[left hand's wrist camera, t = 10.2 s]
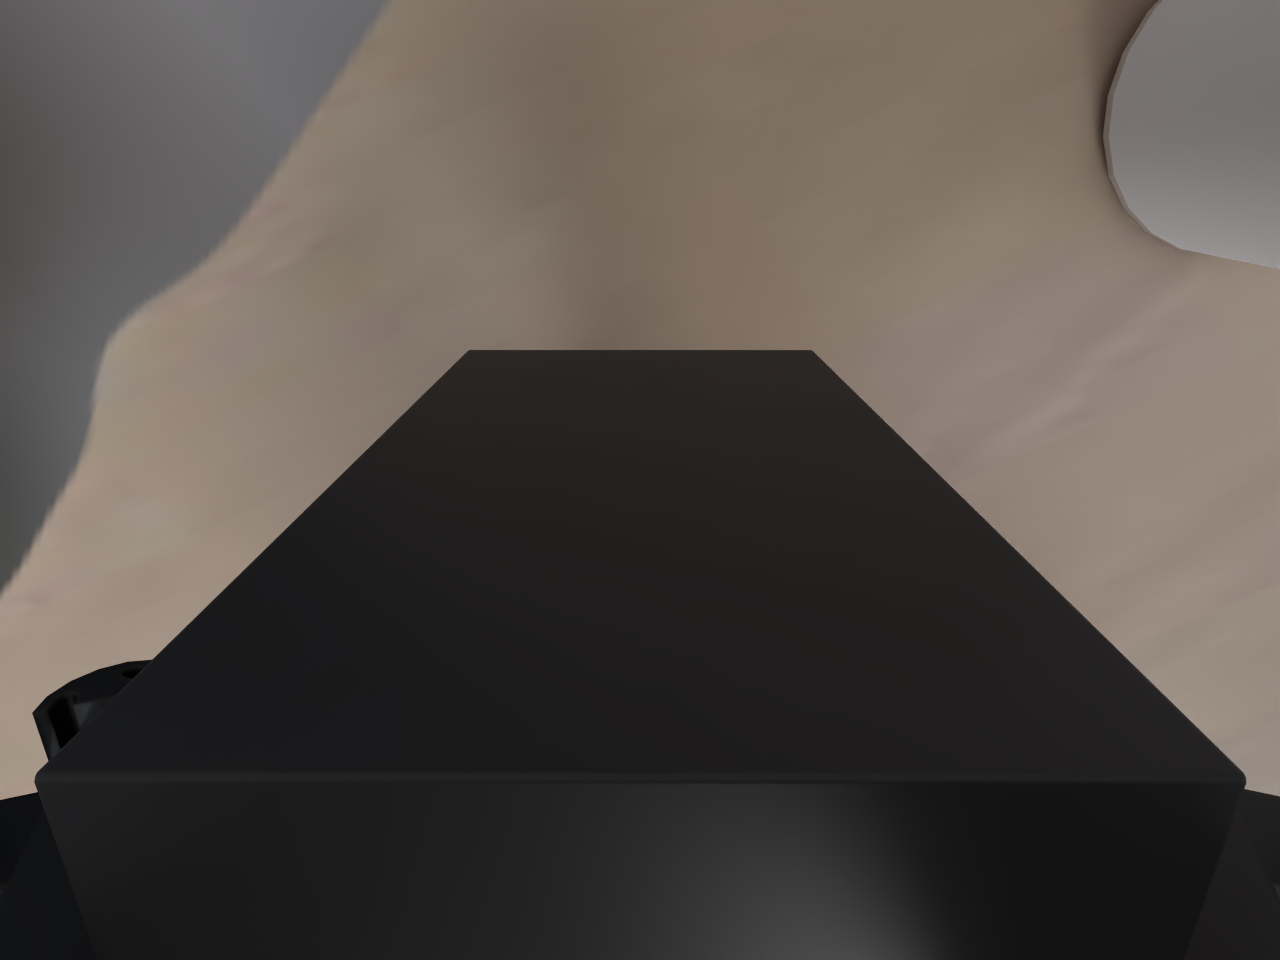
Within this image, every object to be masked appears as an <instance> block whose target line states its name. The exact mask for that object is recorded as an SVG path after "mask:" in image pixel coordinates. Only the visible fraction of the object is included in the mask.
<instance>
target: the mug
mask: <svg viewBox="0 0 1280 960" xmlns="http://www.w3.org/2000/svg"><path fill="white" fill-rule="evenodd" d="M1103 141H1104V148H1105V155H1106V162H1107V169H1108V176H1109V178H1110V180H1111V182H1112V185H1113V187H1114V189H1115V191H1116V194H1117V196H1118V198H1119V200H1120V202H1121V205H1122V207H1123V208H1124V209H1125V211H1126V212H1127V213H1128V214H1129V215H1130V216H1131V217H1132V218H1133V219H1134V220H1135V221H1136V222H1137V224H1138V225H1139V226H1140V227H1141V228H1142V229H1143V230H1144V231H1145V232H1146V233H1148V234H1149V235H1151V236H1153V237H1155V238H1157V239H1159V240H1161V241H1162V242H1164V243H1166V244H1168V245H1170V246H1172V247H1173V248H1176V249H1181V250H1187V251H1192V252H1197V253H1202V254H1207V255H1212V256H1217V257H1222V258H1227V259H1232V260H1237V261H1242V262H1247V263H1252V264H1257V265H1261V266H1266V267H1271V268H1276V269H1280V0H1158V1H1157V2H1156V3H1155V4H1154V5H1153V7H1152V8H1151V9H1150V10H1149V11H1148V12H1147V14H1146V15H1145V17H1144V19H1143V20H1142V22H1141V23H1140V25H1139V27H1138V28H1137V30H1136V32H1135V33H1134V35H1133V37H1132V38H1131V40H1130V42H1129V43H1128V45H1127V47H1126V48H1125V50H1124V52H1123V54H1122V56H1121V59H1120V62H1119V65H1118V68H1117V71H1116V74H1115V76H1114V79H1113V82H1112V85H1111V88H1110V91H1109V94H1108V97H1107V106H1106V114H1105V123H1104V132H1103Z"/></svg>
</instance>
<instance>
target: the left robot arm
mask: <svg viewBox="0 0 1280 960" xmlns="http://www.w3.org/2000/svg"><path fill="white" fill-rule="evenodd" d="M151 661H152V660H144V661H132V662H125V663H121V664H117V665H114V666H110V667H106V668H102V669H98V670H96V671H94V672H91V673H89V674H86V675H84V676H82V677H79V678H77V679H75V680H72V681H70V682H69V683H67V684H66V685H64V686H63V687H61V688H59V689H58V690H56V691H55V692H53V693H52V694H50V695H49V696H47V697H46V698H45V699H44V700H43V702H42V703H41V704H40V705H39V706H38V707H37V708H36V709H35V711H34V712H33V713H32V714H33V716H34V719H35V722H36V725H37V728H38V731H39V734H40V737H41V740H42V743H43V746H44V749H45V752H46V755H47V758H48V761H49V760H50V759H51V758H52V757H54V756H55V755H56V754H57V753H58V752H59V751H60V750H61V749H62V748H63V747H64V746H65V745H66V744H67V743H68V742H69V741H70V740H71V739H72V738H73V737H74V736H75V735H76V734H77V733H78V732H79V731H80V730H81V729H82V728H83V727H84V726H85V725H86V724H87V723H88V722H89V721H90V720H91V719H92V718H93V717H94V716H95V715H96V714H97V713H98V712H100V711H101V710H102V709H103V708H104V707H105V706H106V705H107V704H108V703H109V702H110V701H111V700H112V699H113V698H114V697H115V696H116V695H117V694H118V693H119V692H120V691H121V690H122V689H123V688H124V687H125V686H126V685H127V684H128V683H129V682H130V681H131V680H132V679H133V678H134V677H135V676H136V675H137V674H138V673H139V672H140V671H141V670H142V669H143V668H144V667H146V666H147V665H148V664H149V663H150V662H151ZM0 960H97V958H96V955H95V953H94V950H93V947H92V944H91V941H90V938H89V936H88V933H87V930H86V927H85V924H84V921H83V918H82V916H81V913H80V910H79V907H78V904H77V901H76V899H75V896H74V893H73V890H72V887H71V884H70V882H69V879H68V876H67V873H66V870H65V867H64V865H63V862H62V859H61V856H60V853H59V850H58V847H57V845H56V842H55V839H54V836H53V833H52V830H51V828H50V825H49V822H48V819H47V816H46V813H45V811H44V808H43V805H42V802H41V799H40V796H39V794H38V792H36V793H32V794H27V795H22V796H17V797H13V798H8V799H3V800H0ZM1184 960H1280V797H1279V796H1274V795H1270V794H1265V793H1260V792H1255V791H1251V790H1246V789H1244V791H1243V793H1242V796H1241V799H1240V802H1239V805H1238V808H1237V810H1236V813H1235V816H1234V819H1233V822H1232V825H1231V827H1230V830H1229V833H1228V836H1227V839H1226V842H1225V844H1224V847H1223V850H1222V853H1221V856H1220V859H1219V861H1218V864H1217V867H1216V870H1215V873H1214V876H1213V878H1212V881H1211V884H1210V887H1209V890H1208V893H1207V895H1206V898H1205V901H1204V904H1203V907H1202V910H1201V912H1200V915H1199V918H1198V921H1197V924H1196V927H1195V929H1194V932H1193V935H1192V938H1191V941H1190V944H1189V946H1188V949H1187V952H1186V955H1185V958H1184Z"/></svg>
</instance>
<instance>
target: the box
mask: <svg viewBox="0 0 1280 960" xmlns="http://www.w3.org/2000/svg"><path fill="white" fill-rule="evenodd" d="M35 785H36V788H37V791H38V794H39V796H40V799H41V802H42V805H43V808H44V811H45V813H46V816H47V819H48V822H49V825H50V828H51V830H52V833H53V836H54V839H55V842H56V845H57V847H58V850H59V853H60V856H61V859H62V862H63V865H64V867H65V870H66V873H67V876H68V879H69V882H70V884H71V887H72V890H73V893H74V896H75V899H76V901H77V904H78V907H79V910H80V913H81V916H82V918H83V921H84V924H85V927H86V930H87V933H88V936H89V938H90V941H91V944H92V947H93V950H94V953H95V955H96V958H97V960H1184V958H1185V955H1186V952H1187V949H1188V946H1189V944H1190V941H1191V938H1192V935H1193V932H1194V929H1195V927H1196V924H1197V921H1198V918H1199V915H1200V912H1201V910H1202V907H1203V904H1204V901H1205V898H1206V895H1207V893H1208V890H1209V887H1210V884H1211V881H1212V878H1213V876H1214V873H1215V870H1216V867H1217V864H1218V861H1219V859H1220V856H1221V853H1222V850H1223V847H1224V844H1225V842H1226V839H1227V836H1228V833H1229V830H1230V827H1231V825H1232V822H1233V819H1234V816H1235V813H1236V810H1237V808H1238V805H1239V802H1240V799H1241V796H1242V793H1243V791H1244V788H1245V785H1246V777H1245V775H1244V773H1243V772H1242V771H1241V770H1240V769H1239V768H1238V767H1237V766H1236V765H1235V764H1234V763H1233V762H1232V761H1231V760H1230V759H1229V758H1228V757H1227V756H1226V755H1225V754H1224V753H1223V752H1222V751H1221V750H1220V749H1219V748H1218V747H1217V746H1215V745H1214V744H1213V743H1212V742H1211V741H1210V740H1209V739H1208V738H1207V737H1206V736H1205V735H1204V734H1203V733H1202V732H1201V731H1200V730H1199V729H1198V728H1197V727H1196V726H1195V725H1194V724H1193V723H1192V722H1191V721H1190V720H1189V719H1188V718H1187V717H1186V716H1185V715H1184V714H1183V713H1182V712H1181V711H1180V710H1179V709H1178V708H1177V707H1176V706H1175V705H1174V704H1173V703H1172V702H1171V701H1170V700H1169V699H1167V698H1166V697H1165V696H1164V695H1163V694H1162V693H1161V692H1160V691H1159V690H1158V689H1157V688H1156V687H1155V686H1154V685H1153V684H1152V683H1151V682H1150V681H1149V680H1148V679H1147V678H1146V677H1145V676H1144V675H1143V674H1142V673H1141V672H1140V671H1139V670H1138V669H1137V668H1136V667H1135V666H1134V665H1133V664H1132V663H1131V662H1130V661H1129V660H1128V659H1127V658H1126V657H1125V656H1124V655H1123V654H1122V653H1121V652H1120V651H1118V650H1117V649H1116V648H1115V647H1114V646H1113V645H1112V644H1111V643H1110V642H1109V641H1108V640H1107V639H1106V638H1105V637H1104V636H1103V635H1102V634H1101V633H1100V632H1099V631H1098V630H1097V629H1096V628H1095V627H1094V626H1093V625H1092V624H1091V623H1090V622H1089V621H1088V620H1087V619H1086V618H1085V617H1084V616H1083V615H1082V614H1081V613H1080V612H1079V611H1078V610H1077V609H1076V608H1075V607H1074V606H1073V605H1072V604H1070V603H1069V602H1068V601H1067V600H1066V599H1065V598H1064V597H1063V596H1062V595H1061V594H1060V593H1059V592H1058V591H1057V590H1056V589H1055V588H1054V587H1053V586H1052V585H1051V584H1050V583H1049V582H1048V581H1047V580H1046V579H1045V578H1044V577H1043V576H1042V575H1041V574H1040V573H1039V572H1038V571H1037V570H1036V569H1035V568H1034V567H1033V566H1032V565H1031V564H1030V563H1029V562H1028V561H1027V560H1026V559H1025V558H1024V557H1022V556H1021V555H1020V554H1019V553H1018V552H1017V551H1016V550H1015V549H1014V548H1013V547H1012V546H1011V545H1010V544H1009V543H1008V542H1007V541H1006V540H1005V539H1004V538H1003V537H1002V536H1001V535H1000V534H999V533H998V532H997V531H996V530H995V529H994V528H993V527H992V526H991V525H990V524H989V523H988V522H987V521H986V520H985V519H984V518H983V517H982V516H981V515H980V514H979V513H978V512H977V511H976V510H974V509H973V508H972V507H971V506H970V505H969V504H968V503H967V502H966V501H965V500H964V499H963V498H962V497H961V496H960V495H959V494H958V493H957V492H956V491H955V490H954V489H953V488H952V487H951V486H950V485H949V484H948V483H947V482H946V481H945V480H944V479H943V478H942V477H941V476H940V475H939V474H938V473H937V472H936V471H935V470H934V469H933V468H932V467H931V466H930V465H929V464H928V463H926V462H925V461H924V460H923V459H922V458H921V457H920V456H919V455H918V454H917V453H916V452H915V451H914V450H913V449H912V448H911V447H910V446H909V445H908V444H907V443H906V442H905V441H904V440H903V439H902V438H901V437H900V436H899V435H898V434H897V433H896V432H895V431H894V430H893V429H892V428H891V427H890V426H889V425H888V424H887V423H886V422H885V421H884V420H883V419H882V418H881V417H880V416H879V415H877V414H876V413H875V412H874V411H873V410H872V409H871V408H870V407H869V406H868V405H867V404H866V403H865V402H864V401H863V400H862V399H861V398H860V397H859V396H858V395H857V394H856V393H855V392H854V391H853V390H852V389H851V388H850V387H849V386H848V385H847V384H846V383H845V382H844V381H843V380H842V379H841V378H840V377H839V376H838V375H837V374H836V373H835V372H834V371H833V370H832V369H831V368H829V367H828V366H827V365H826V364H825V363H824V362H823V361H822V360H821V359H820V358H819V357H818V356H817V355H816V354H815V353H814V352H813V351H811V350H469V351H468V352H467V353H466V354H465V355H463V356H462V357H461V358H460V359H459V360H458V361H457V362H456V363H455V364H454V365H453V366H452V367H451V368H450V369H449V370H448V371H447V372H446V373H445V374H444V375H443V376H442V377H441V378H440V379H439V380H438V381H437V382H436V383H435V384H434V385H433V386H432V387H431V388H430V389H429V390H428V391H427V392H426V393H425V394H424V395H423V396H422V397H421V398H420V399H418V400H417V401H416V402H415V403H414V404H413V405H412V406H411V407H410V408H409V409H408V410H407V411H406V412H405V413H404V414H403V415H402V416H401V417H400V418H399V419H398V420H397V421H396V422H395V423H394V424H393V425H392V426H391V427H390V428H389V429H388V430H387V431H386V432H385V433H384V434H383V435H382V436H381V437H380V438H379V439H378V440H377V441H376V442H375V443H374V444H372V445H371V446H370V447H369V448H368V449H367V450H366V451H365V452H364V453H363V454H362V455H361V456H360V457H359V458H358V459H357V460H356V461H355V462H354V463H353V464H352V465H351V466H350V467H349V468H348V469H347V470H346V471H345V472H344V473H343V474H342V475H341V476H340V477H339V478H338V479H337V480H336V481H335V482H334V483H333V484H332V485H331V486H330V487H329V488H328V489H326V490H325V491H324V492H323V493H322V494H321V495H320V496H319V497H318V498H317V499H316V500H315V501H314V502H313V503H312V504H311V505H310V506H309V507H308V508H307V509H306V510H305V511H304V512H303V513H302V514H301V515H300V516H299V517H298V518H297V519H296V520H295V521H294V522H293V523H292V524H291V525H290V526H289V527H288V528H287V529H286V530H285V531H284V532H283V533H281V534H280V535H279V536H278V537H277V538H276V539H275V540H274V541H273V542H272V543H271V544H270V545H269V546H268V547H267V548H266V549H265V550H264V551H263V552H262V553H261V554H260V555H259V556H258V557H257V558H256V559H255V560H254V561H253V562H252V563H251V564H250V565H249V566H248V567H247V568H246V569H245V570H244V571H243V572H242V573H241V574H240V575H239V576H238V577H237V578H235V579H234V580H233V581H232V582H231V583H230V584H229V585H228V586H227V587H226V588H225V589H224V590H223V591H222V592H221V593H220V594H219V595H218V596H217V597H216V598H215V599H214V600H213V601H212V602H211V603H210V604H209V605H208V606H207V607H206V608H205V609H204V610H203V611H202V612H201V613H200V614H199V615H198V616H197V617H196V618H195V619H194V620H193V621H192V622H191V623H189V624H188V625H187V626H186V627H185V628H184V629H183V630H182V631H181V632H180V633H179V634H178V635H177V636H176V637H175V638H174V639H173V640H172V641H171V642H170V643H169V644H168V645H167V646H166V647H165V648H164V649H163V650H162V651H161V652H160V653H159V654H158V655H157V656H156V657H155V658H154V659H153V660H152V661H151V662H150V663H149V664H148V665H147V666H146V667H144V668H143V669H142V670H141V671H140V672H139V673H138V674H137V675H136V676H135V677H134V678H133V679H132V680H131V681H130V682H129V683H128V684H127V685H126V686H125V687H124V688H123V689H122V690H121V691H120V692H119V693H118V694H117V695H116V696H115V697H114V698H113V699H112V700H111V701H110V702H109V703H108V704H107V705H106V706H105V707H104V708H103V709H102V710H101V711H100V712H98V713H97V714H96V715H95V716H94V717H93V718H92V719H91V720H90V721H89V722H88V723H87V724H86V725H85V726H84V727H83V728H82V729H81V730H80V731H79V732H78V733H77V734H76V735H75V736H74V737H73V738H72V739H71V740H70V741H69V742H68V743H67V744H66V745H65V746H64V747H63V748H62V749H61V750H60V751H59V752H58V753H57V754H56V755H55V756H54V757H52V758H51V759H50V760H49V761H48V762H47V763H46V764H45V765H44V766H43V767H42V768H41V769H40V770H39V771H38V772H37V774H36V776H35Z"/></svg>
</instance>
